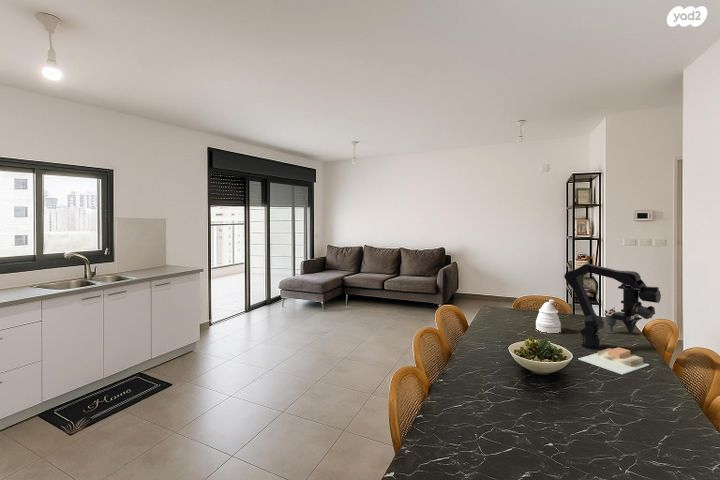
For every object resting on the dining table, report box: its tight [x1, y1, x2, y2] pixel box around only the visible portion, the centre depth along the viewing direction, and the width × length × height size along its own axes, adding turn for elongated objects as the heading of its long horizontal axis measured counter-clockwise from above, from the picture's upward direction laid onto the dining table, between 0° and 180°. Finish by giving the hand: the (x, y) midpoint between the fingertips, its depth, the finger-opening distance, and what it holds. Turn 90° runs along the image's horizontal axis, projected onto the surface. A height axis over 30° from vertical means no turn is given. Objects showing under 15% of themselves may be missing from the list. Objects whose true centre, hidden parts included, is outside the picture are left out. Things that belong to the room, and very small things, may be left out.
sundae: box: [603, 308, 617, 335], centre depth 200 cm, size 7×7×15 cm
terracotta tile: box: [608, 347, 631, 358], centre depth 163 cm, size 5×8×2 cm, turn 114°
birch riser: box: [597, 347, 644, 367], centre depth 163 cm, size 14×9×2 cm, turn 24°
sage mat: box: [577, 352, 650, 375], centre depth 161 cm, size 19×19×1 cm
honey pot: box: [535, 299, 562, 334], centre depth 208 cm, size 13×13×18 cm
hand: (630, 332), depth 166 cm, fingers closed
